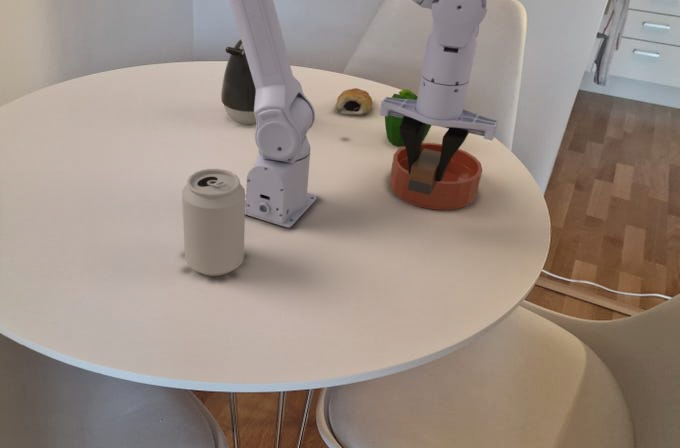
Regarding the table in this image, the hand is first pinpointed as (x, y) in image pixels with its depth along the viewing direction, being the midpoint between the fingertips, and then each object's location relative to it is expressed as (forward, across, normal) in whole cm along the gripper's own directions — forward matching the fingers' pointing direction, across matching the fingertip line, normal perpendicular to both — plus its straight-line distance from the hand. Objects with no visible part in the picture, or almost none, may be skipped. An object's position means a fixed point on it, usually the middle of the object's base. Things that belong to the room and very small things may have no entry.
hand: (426, 175), depth 86 cm
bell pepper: (+9, +10, -26) cm, 29 cm away
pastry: (+9, +23, -35) cm, 43 cm away
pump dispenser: (+9, +38, -20) cm, 44 cm away
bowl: (+8, +1, -12) cm, 15 cm away
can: (+9, +20, +21) cm, 30 cm away
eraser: (+1, 0, 0) cm, 1 cm away
